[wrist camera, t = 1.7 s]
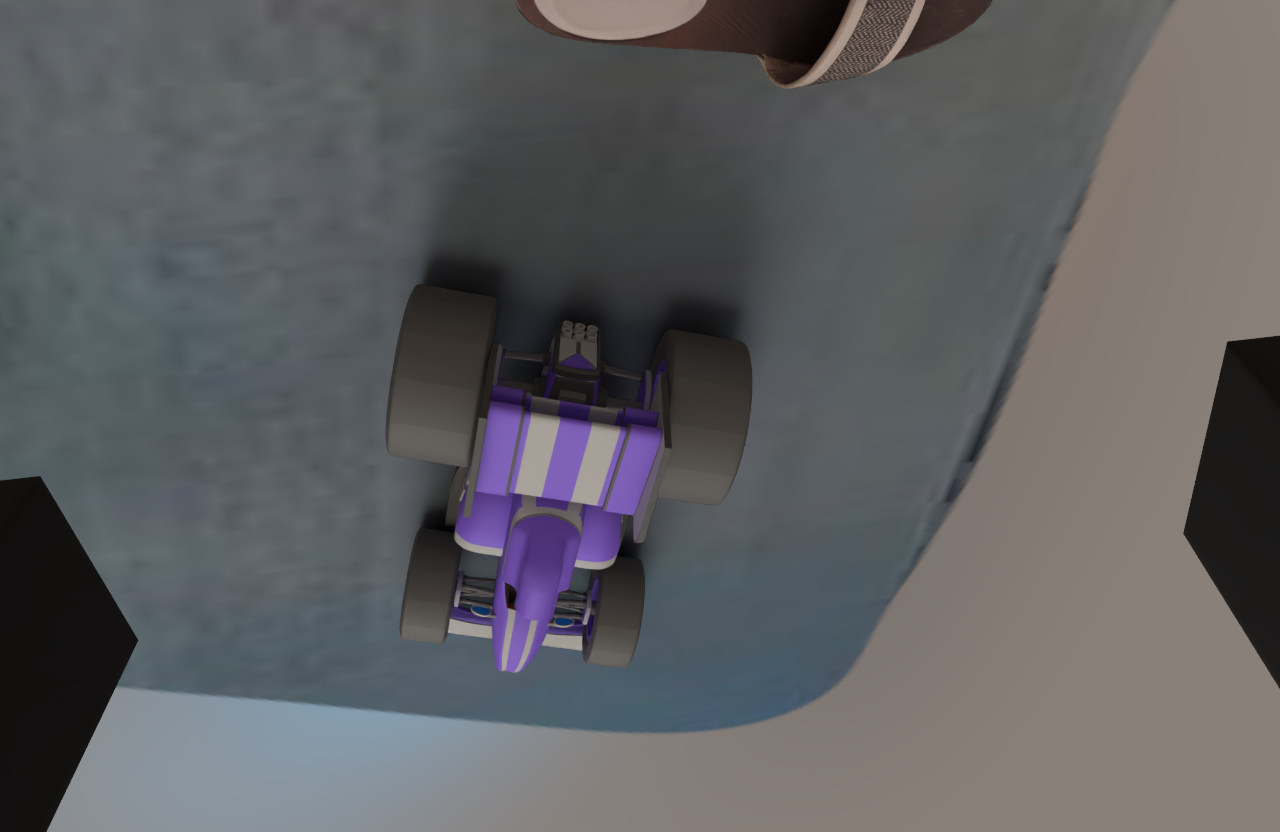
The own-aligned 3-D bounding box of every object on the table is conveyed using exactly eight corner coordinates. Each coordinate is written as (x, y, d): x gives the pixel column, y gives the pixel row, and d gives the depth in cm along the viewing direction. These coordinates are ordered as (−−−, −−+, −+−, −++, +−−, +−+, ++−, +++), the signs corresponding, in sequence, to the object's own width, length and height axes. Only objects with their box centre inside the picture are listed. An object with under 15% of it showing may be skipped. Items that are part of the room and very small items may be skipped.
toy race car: (381, 612, 39) (344, 766, 34) (420, 251, 30) (379, 383, 25) (637, 647, 40) (640, 800, 35) (746, 310, 32) (771, 448, 26)
